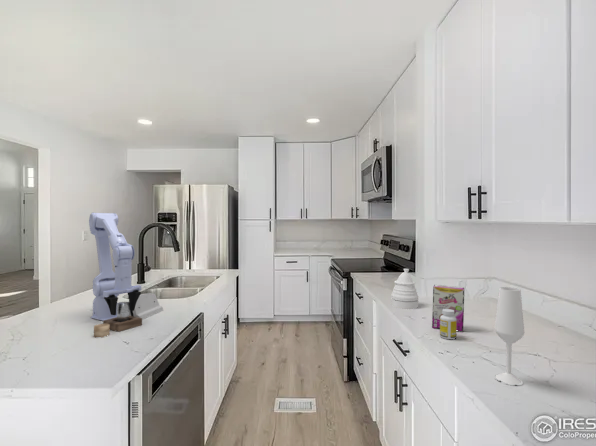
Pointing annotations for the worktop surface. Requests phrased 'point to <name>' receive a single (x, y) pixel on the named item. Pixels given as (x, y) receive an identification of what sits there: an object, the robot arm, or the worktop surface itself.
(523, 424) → the worktop surface
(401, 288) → the honey pot
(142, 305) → the hinge
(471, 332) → the worktop surface
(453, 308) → the candy bar box
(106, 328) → the oak stub
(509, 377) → the champagne flute
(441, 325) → the supplement bottle
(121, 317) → the tall pin
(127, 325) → the socket block
